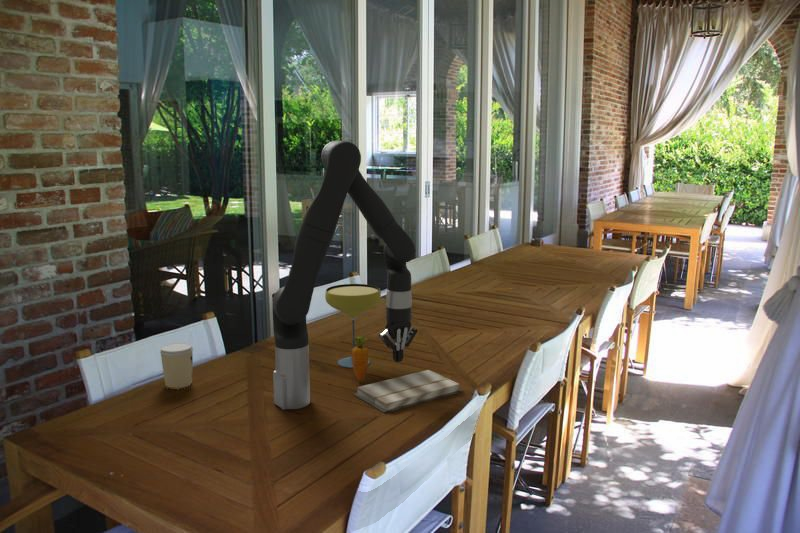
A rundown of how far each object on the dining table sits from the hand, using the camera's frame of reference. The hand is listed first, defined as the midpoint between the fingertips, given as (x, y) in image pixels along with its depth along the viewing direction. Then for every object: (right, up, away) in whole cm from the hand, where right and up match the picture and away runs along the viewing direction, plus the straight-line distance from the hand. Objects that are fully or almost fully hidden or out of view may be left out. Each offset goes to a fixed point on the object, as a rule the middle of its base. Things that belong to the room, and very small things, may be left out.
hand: (398, 361), depth 198 cm
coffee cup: (-66, -8, +4) cm, 67 cm away
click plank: (+1, -8, 0) cm, 8 cm away
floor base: (+3, -9, -2) cm, 10 cm away
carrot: (-12, -8, +6) cm, 15 cm away
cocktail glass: (-15, -4, +24) cm, 29 cm away
